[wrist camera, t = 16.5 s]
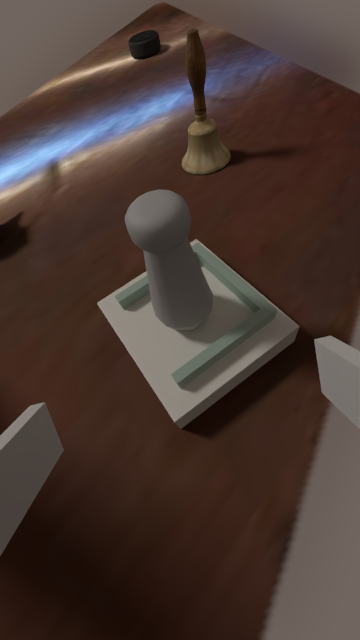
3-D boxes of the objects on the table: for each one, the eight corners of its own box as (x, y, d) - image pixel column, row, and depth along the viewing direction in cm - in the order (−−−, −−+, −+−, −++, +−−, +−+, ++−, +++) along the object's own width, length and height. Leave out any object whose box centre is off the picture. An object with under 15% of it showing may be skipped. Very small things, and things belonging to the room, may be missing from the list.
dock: (107, 317, 34) (90, 295, 30) (199, 256, 36) (194, 229, 33) (181, 429, 26) (170, 418, 22) (294, 341, 28) (302, 317, 24)
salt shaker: (176, 350, 27) (130, 252, 16) (149, 310, 30) (95, 204, 19) (227, 318, 27) (217, 204, 16) (196, 282, 30) (170, 165, 19)
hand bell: (180, 153, 50) (157, 31, 37) (226, 142, 49) (220, 12, 36) (184, 180, 46) (160, 51, 32) (235, 168, 45) (231, 31, 31)
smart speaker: (149, 46, 85) (145, 28, 82) (167, 49, 81) (164, 30, 78) (126, 58, 83) (121, 40, 80) (143, 62, 79) (139, 43, 76)
